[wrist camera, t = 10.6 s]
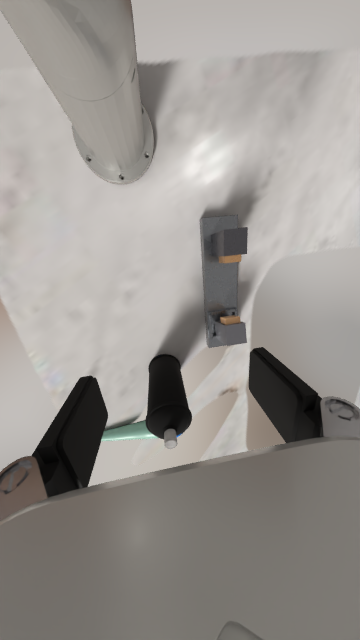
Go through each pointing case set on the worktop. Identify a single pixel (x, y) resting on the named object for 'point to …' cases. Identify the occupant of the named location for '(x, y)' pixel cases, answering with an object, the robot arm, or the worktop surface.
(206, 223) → the rail
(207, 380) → the worktop surface
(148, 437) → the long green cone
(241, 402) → the worktop surface
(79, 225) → the worktop surface
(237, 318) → the dark grey block
